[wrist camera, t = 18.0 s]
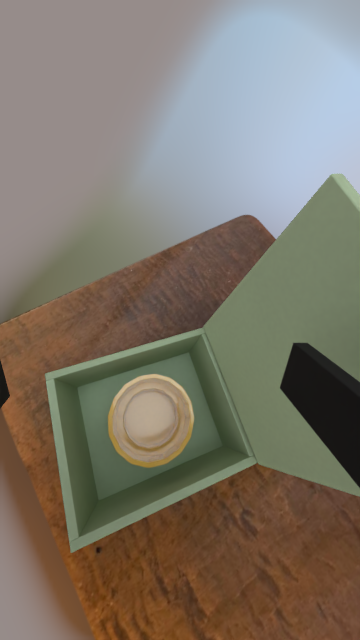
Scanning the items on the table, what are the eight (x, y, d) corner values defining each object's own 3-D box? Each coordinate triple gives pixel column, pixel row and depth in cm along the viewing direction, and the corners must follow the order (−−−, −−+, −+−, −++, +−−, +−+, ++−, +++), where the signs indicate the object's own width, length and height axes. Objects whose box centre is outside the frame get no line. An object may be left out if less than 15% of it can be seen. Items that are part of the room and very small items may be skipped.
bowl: (106, 445, 30) (94, 455, 23) (128, 375, 34) (124, 365, 27) (175, 462, 30) (183, 476, 23) (189, 390, 34) (200, 385, 27)
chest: (94, 508, 28) (70, 553, 19) (72, 384, 33) (44, 373, 24) (227, 448, 33) (259, 462, 24) (190, 347, 37) (205, 326, 29)
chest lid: (660, 594, 6) (668, 576, 6) (331, 172, 11) (342, 172, 11) (258, 464, 23) (264, 461, 23) (202, 326, 28) (208, 324, 28)
